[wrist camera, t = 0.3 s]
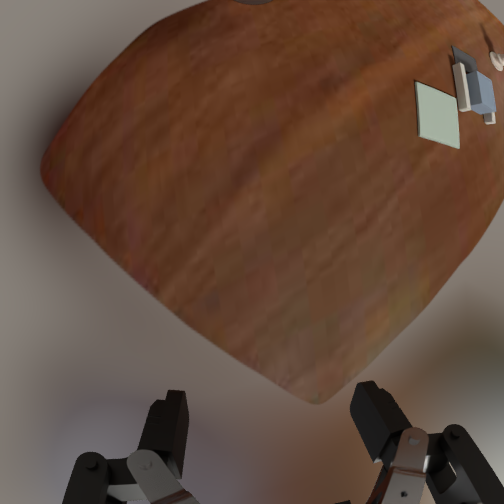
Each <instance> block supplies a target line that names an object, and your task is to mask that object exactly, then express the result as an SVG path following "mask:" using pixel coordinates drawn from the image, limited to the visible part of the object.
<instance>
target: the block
mask: <svg viewBox="0 0 504 504" xmlns="http://www.w3.org/2000/svg"><path fill="white" fill-rule="evenodd" d="M466 79H467V85H468V91H469V98H470V106H471V110H473V111H475V112H477V113H479V114H485V113H491V112H496V106H495V99H494V93H493V87H492V82H491V80H490V79H489V78H487V77H486V76H484V75H482V74H481V73H479V72H478V71H474V72H472V73H469V74H466Z"/></svg>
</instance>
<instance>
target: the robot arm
mask: <svg viewBox="0 0 504 504" xmlns="http://www.w3.org/2000/svg"><path fill="white" fill-rule="evenodd" d="M235 1H237V2H240V3H244V4H264V3H267V2H270V1H272V0H235ZM350 413H351V416H352V418H353V421H354V423H355V425H356V427H357V429H358V431H359V433H360V435H361V438H362V440H363V442H364V444H365V446H366V448H367V450H368V453H369V455H370V457H371V459H372V461H373V463H376V462H379V461H382V462H383V466H382V468H381V470H380V473H379V475H378V478H377V480H376V483H375V486H374V488H373V490H372V492H371V495H370V497H369V498H368V500H367V502H366V503H365V504H419V502H420V499H421V496H422V492H423V488H424V484H425V481H426V483H427V485H428V488H429V490H430V492H431V494H432V496H433V498H434V500H435V503H436V504H504V487H503V485H502V484H501V482H500V481H499V479H498V477H497V476H496V474H495V472H494V471H493V469H492V468H491V466H490V465H489V463H488V462H487V460H486V459H485V457H484V456H483V454H482V453H481V451H480V450H479V448H478V447H477V445H476V444H475V443H474V441H473V440H472V438H471V437H470V435H469V434H468V432H467V431H466V430H465V429H464V428H463V427H462V426H460V425H457V424H452V425H449V426H447V427H446V428H445V429H444V431H443V432H442V433H435V434H427V433H426V432H425V431H424V430H422V429H420V428H417V427H412V425H411V424H410V422H409V421H408V419H407V418H406V416H405V415H404V413H403V412H402V410H401V409H400V408H399V406H398V404H397V403H396V402H395V400H394V398H393V397H392V395H391V394H390V393H388V392H387V391H385V390H384V389H383V388H382V389H379V388H378V387H377V385H376V383H375V382H374V381H366V382H360V383H358V384H357V386H356V388H355V392H354V395H353V398H352V401H351V404H350ZM188 427H189V411H188V406H187V399H186V393H185V391H179V390H168V392H167V396H166V399H165V400H156V401H155V402H154V403H153V404H152V405H151V407H150V410H149V413H148V417H147V419H146V423H145V426H144V429H143V433H142V436H141V439H140V442H139V446H138V449H137V450H136V451H135V452H133V453H131V455H129V457H127V458H122V459H105V458H104V457H103V456H102V455H101V454H99V453H96V452H86V453H83V454H81V455H80V456H79V457H78V458H77V460H76V463H75V465H74V468H73V471H72V474H71V477H70V480H69V483H68V486H67V489H66V492H65V496H64V499H63V502H62V504H127V501H137V500H149V502H150V503H151V504H200V503H199V502H198V501H197V500H196V499H195V497H194V496H193V495H192V494H191V493H190V492H188V491H186V490H185V489H184V488H183V487H182V486H181V484H180V483H179V482H178V481H177V479H182V472H183V464H184V456H185V448H186V441H187V434H188ZM449 462H450V463H451V465H452V467H453V468H454V470H455V472H456V475H457V477H456V475H455V473H454V472H453V470H452V468H451V466H450V465H449ZM335 504H351V503H350V500H348V501H344V502H340V503H335Z"/></svg>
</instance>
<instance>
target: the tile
mask: <svg viewBox="0 0 504 504" xmlns="http://www.w3.org/2000/svg"><path fill="white" fill-rule="evenodd" d="M415 90H416V102H417V117H418V136H419V137H423V138H426V139H429V140H433V141H436V142H439V143H442V144H445V145H448V146H451V147H454V148H457V149H460V147H459V125H458V113H457V103H456V98H454V97H452V96H450V95H448V94H445V93H443V92H441V91H439V90H436V89H434V88H431V87H429V86H426V85H424V84H421V83H419V82H415Z"/></svg>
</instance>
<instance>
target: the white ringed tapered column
mask: <svg viewBox="0 0 504 504" xmlns="http://www.w3.org/2000/svg"><path fill="white" fill-rule="evenodd" d="M490 59H491V61H492V63H493V65H494V67H495V68H496V69H497V70H499V71H502V70H503V66H504V54H502V55H501V54H496V53H494V52H490ZM502 65H503V66H502Z"/></svg>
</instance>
